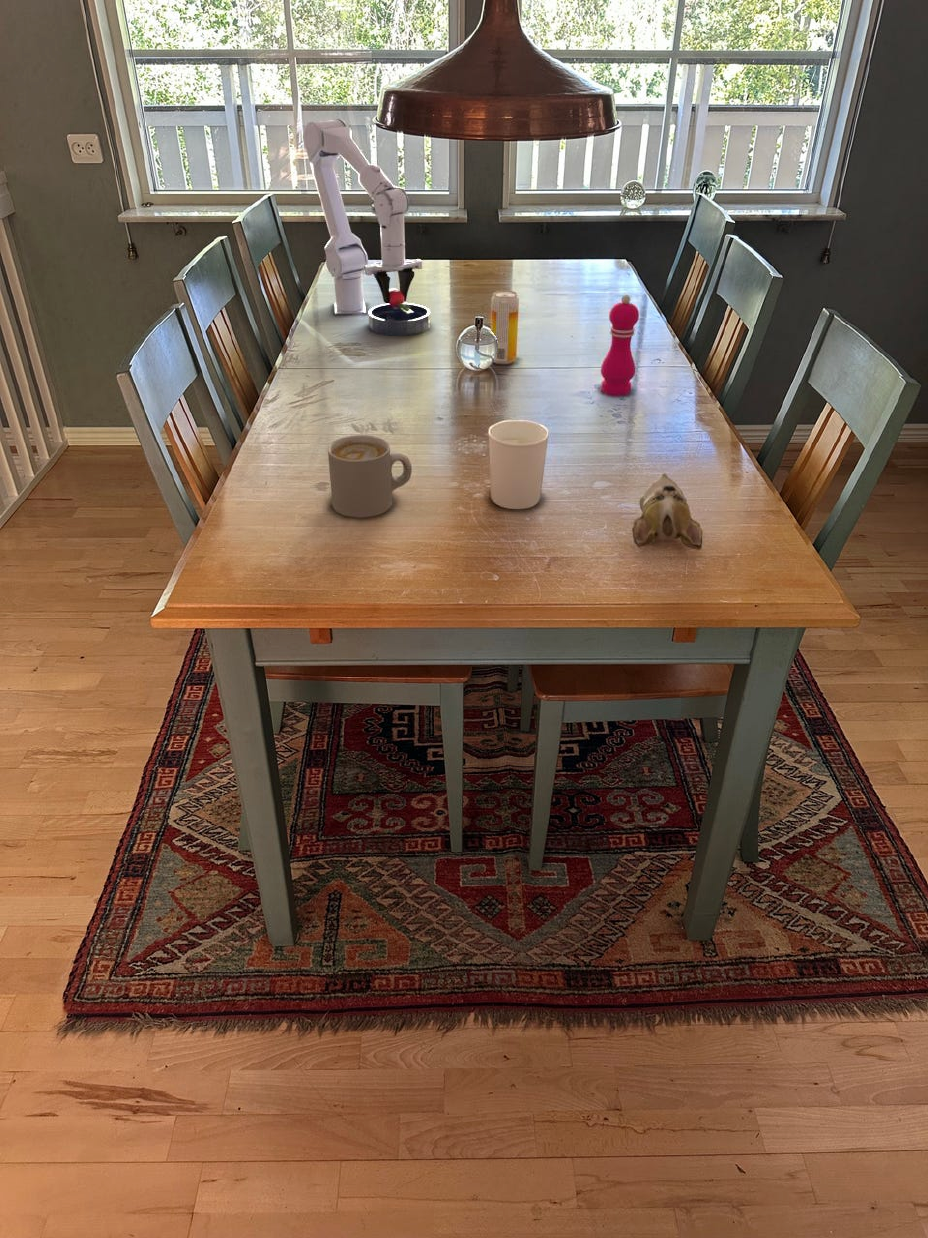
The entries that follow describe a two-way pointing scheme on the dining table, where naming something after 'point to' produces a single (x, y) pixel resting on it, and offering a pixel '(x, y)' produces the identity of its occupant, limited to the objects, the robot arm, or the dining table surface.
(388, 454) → the coffee mug
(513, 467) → the white cup
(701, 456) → the dining table surface
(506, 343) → the beer can
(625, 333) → the pepper mill
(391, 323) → the bowl
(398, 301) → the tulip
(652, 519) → the ceramic sculpture
